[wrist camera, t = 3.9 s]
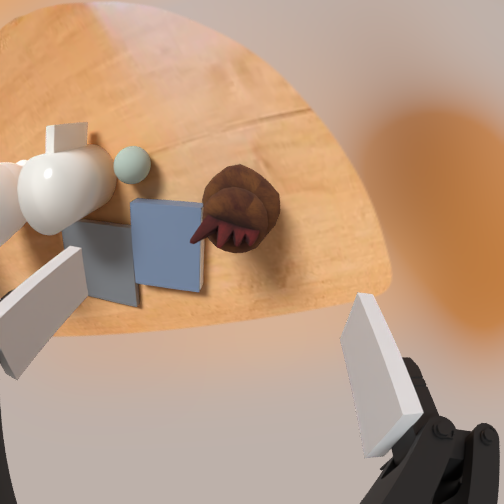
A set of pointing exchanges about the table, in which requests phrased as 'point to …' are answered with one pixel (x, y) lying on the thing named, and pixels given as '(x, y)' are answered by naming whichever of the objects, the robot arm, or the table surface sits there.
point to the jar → (10, 200)
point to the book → (167, 243)
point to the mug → (65, 180)
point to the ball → (132, 165)
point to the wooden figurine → (237, 210)
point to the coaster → (105, 259)
